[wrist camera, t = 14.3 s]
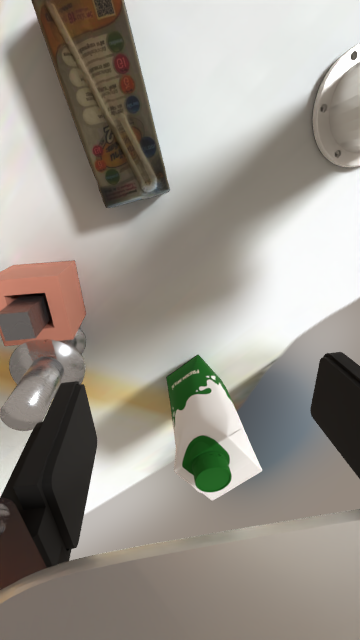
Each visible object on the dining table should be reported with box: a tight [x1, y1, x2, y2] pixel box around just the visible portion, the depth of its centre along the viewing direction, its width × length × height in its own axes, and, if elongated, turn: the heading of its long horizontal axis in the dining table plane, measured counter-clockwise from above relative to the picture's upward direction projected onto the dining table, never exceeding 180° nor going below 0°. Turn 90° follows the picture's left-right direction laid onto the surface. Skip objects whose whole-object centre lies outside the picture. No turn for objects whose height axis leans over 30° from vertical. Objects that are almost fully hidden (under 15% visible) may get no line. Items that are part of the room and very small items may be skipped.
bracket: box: [0, 261, 86, 362], centre depth 35 cm, size 8×11×8 cm
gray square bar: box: [0, 293, 52, 341], centre depth 33 cm, size 3×3×12 cm
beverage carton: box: [32, 0, 170, 208], centre depth 28 cm, size 8×19×7 cm, turn 15°
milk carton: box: [166, 355, 262, 500], centre depth 39 cm, size 9×9×20 cm
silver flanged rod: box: [0, 328, 86, 431], centre depth 34 cm, size 9×9×16 cm
